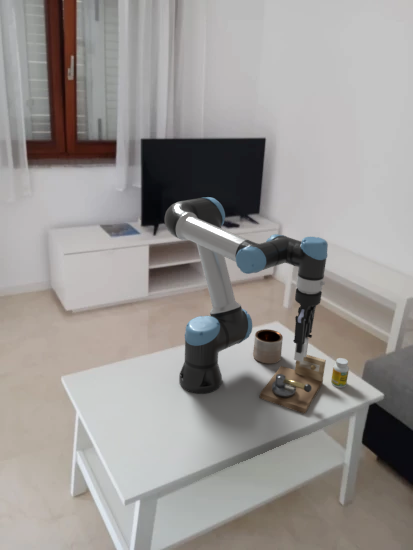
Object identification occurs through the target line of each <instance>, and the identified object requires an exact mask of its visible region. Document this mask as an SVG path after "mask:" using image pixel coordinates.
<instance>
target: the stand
mask: <svg viewBox="0 0 413 550" xmlns="http://www.w3.org/2000/svg"><path fill="white" fill-rule="evenodd" d="M325 367H326V359H324V358H320V357H317V356H313V355H309V354H307V356H306V357H304V358H303V362H300V361H297V360H295V367H294V368H293V369H292V368H290V367H286V366H284V365H283V366H282V365H280V366H279V368H278V369H277V371H276V372H274V374H273V376H271V378H270V380H269V381H268V382H267V383H266V384H265V386H264V388H263V389H262V390H261V391H260V392H259V399H261V400H264V401H267V402H270V403H273V404H274V405H275V404H276V405H277V406H278V405H279V406H281V407H284V408H288V409H290V410H292V411H296V412H298V413H300V414H306V413H307V411H308V410H309V408H310V407H311V404H312V403H313V401H314V399H315V397H316V396H317V394H318V392H319V391H320V389H321V387H322V386H323V382H324V375H325ZM277 374H283V375H285V377H286V378H287V379H290V380H293V381H296V382H300V383H303V384H310V385H311V387H312V389H311V391H310V392H306V391H305V390H303V389H300V388H297V387H296V392H295V395H294V396H293V397H291V398H281V397H278V396H276V395H275V394H273V392H272V384H273V382H275V381H276V375H277Z"/></svg>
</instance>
